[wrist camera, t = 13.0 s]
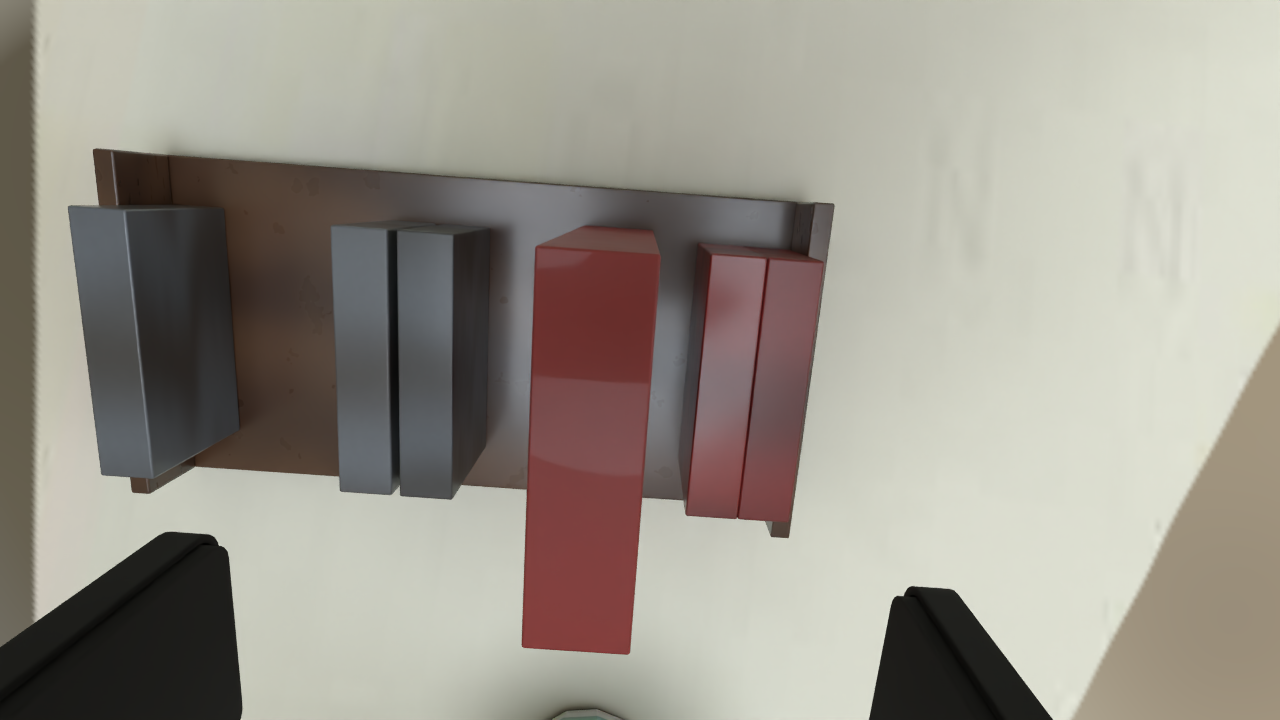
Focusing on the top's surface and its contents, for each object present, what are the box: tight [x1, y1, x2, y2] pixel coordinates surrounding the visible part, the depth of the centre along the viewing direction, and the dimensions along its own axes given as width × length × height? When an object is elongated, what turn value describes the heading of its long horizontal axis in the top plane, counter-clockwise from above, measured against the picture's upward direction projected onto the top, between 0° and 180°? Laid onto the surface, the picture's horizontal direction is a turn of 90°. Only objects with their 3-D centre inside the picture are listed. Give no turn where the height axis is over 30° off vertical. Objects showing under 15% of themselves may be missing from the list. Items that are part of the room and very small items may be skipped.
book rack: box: [68, 148, 834, 538], centre depth 27 cm, size 14×28×7 cm, turn 86°
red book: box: [522, 225, 661, 655], centre depth 23 cm, size 11×3×13 cm, turn 176°
